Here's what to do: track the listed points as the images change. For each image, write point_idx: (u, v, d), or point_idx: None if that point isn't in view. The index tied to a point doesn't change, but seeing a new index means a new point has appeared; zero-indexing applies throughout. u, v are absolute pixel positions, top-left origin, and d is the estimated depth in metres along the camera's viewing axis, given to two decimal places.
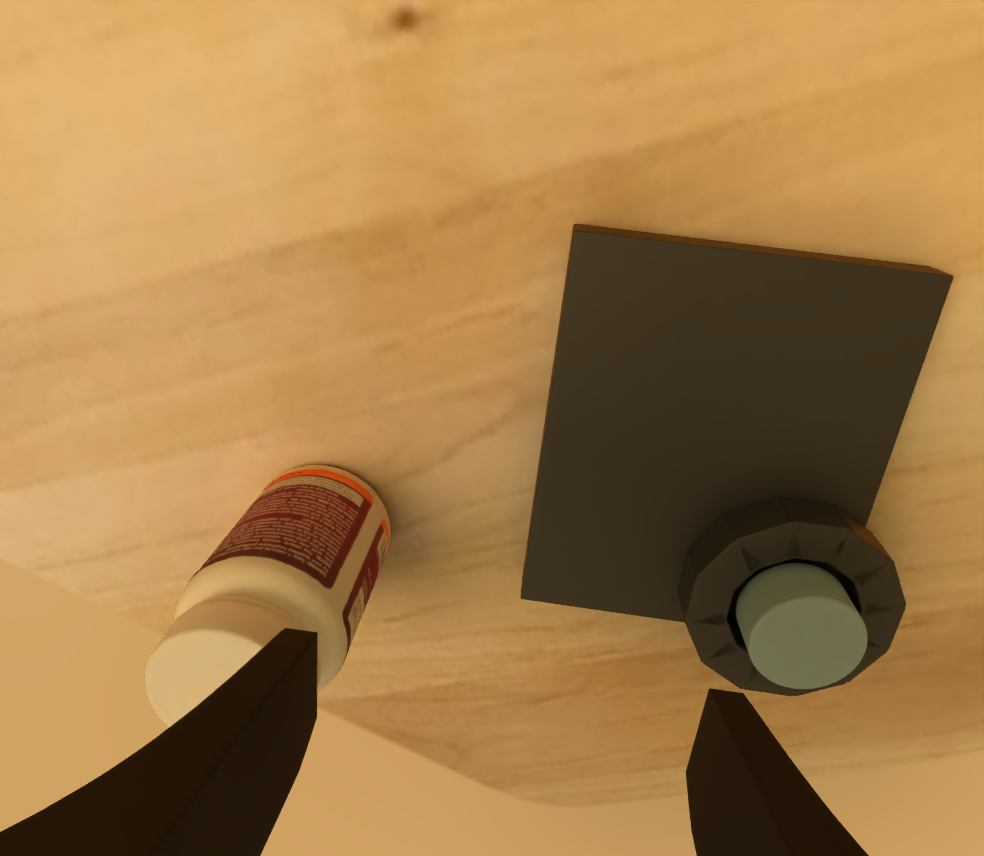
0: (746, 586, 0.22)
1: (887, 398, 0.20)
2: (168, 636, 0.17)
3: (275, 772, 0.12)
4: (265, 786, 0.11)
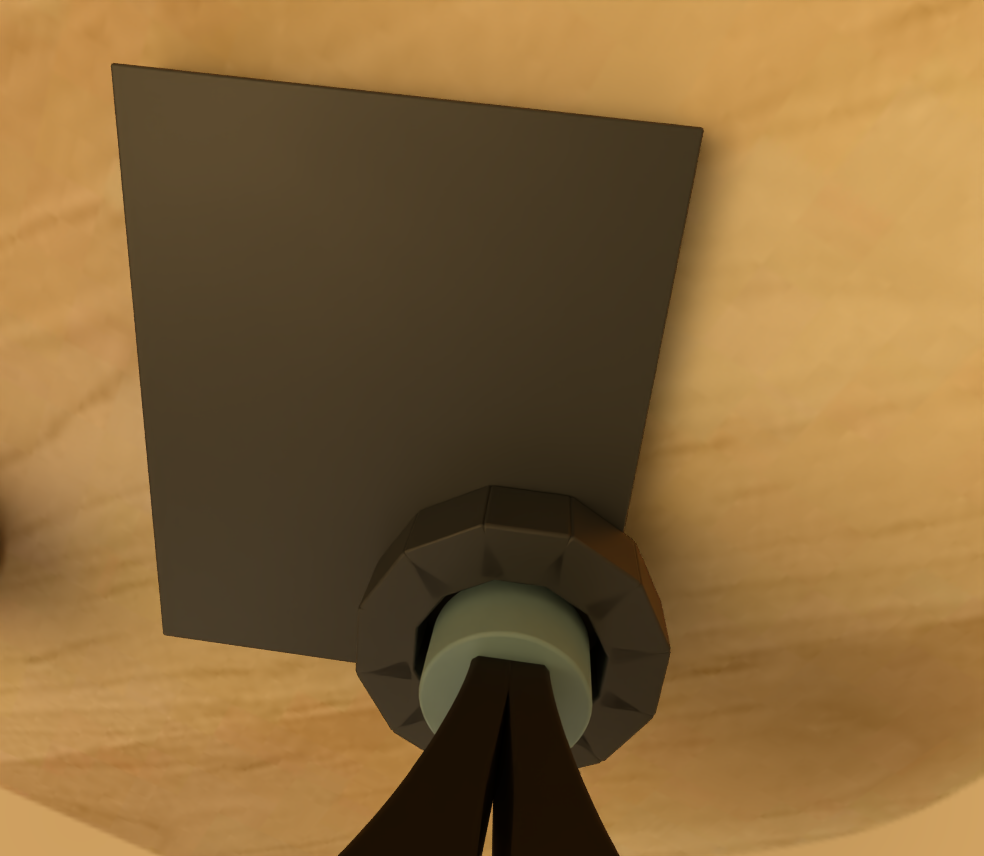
0: (440, 613, 0.15)
1: (628, 332, 0.13)
2: None
3: (489, 805, 0.12)
4: (485, 820, 0.11)
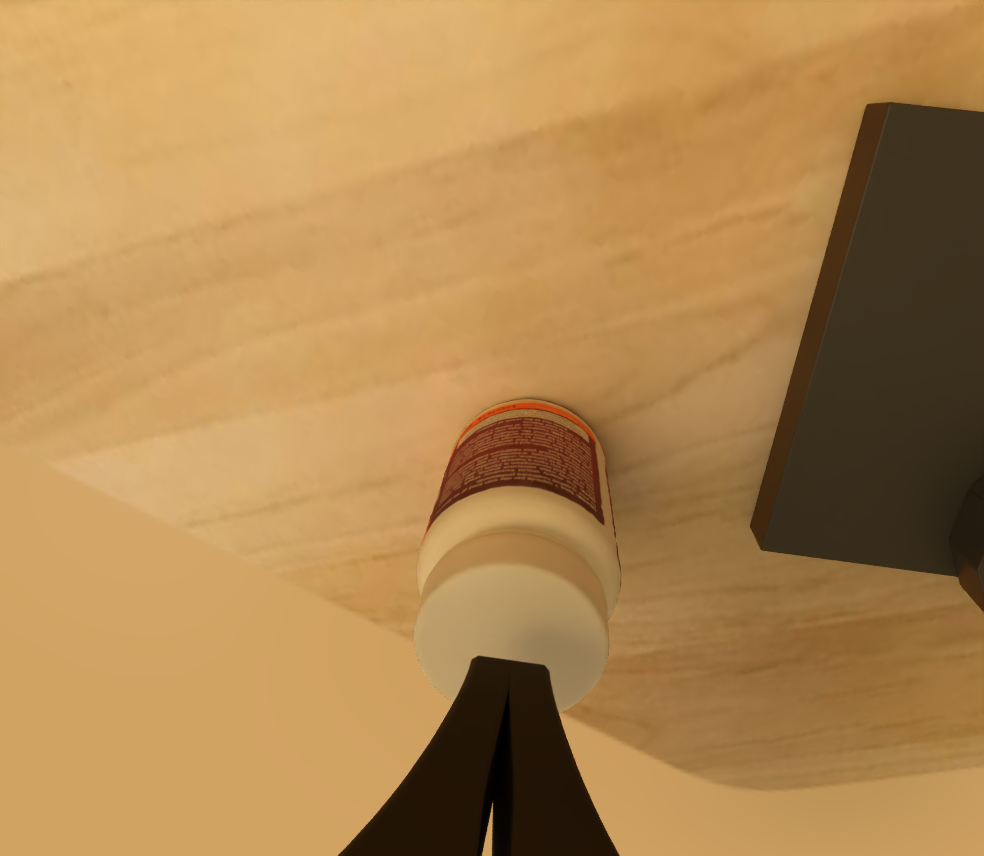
0: None
1: None
2: (451, 573, 0.14)
3: (488, 804, 0.12)
4: (485, 820, 0.11)
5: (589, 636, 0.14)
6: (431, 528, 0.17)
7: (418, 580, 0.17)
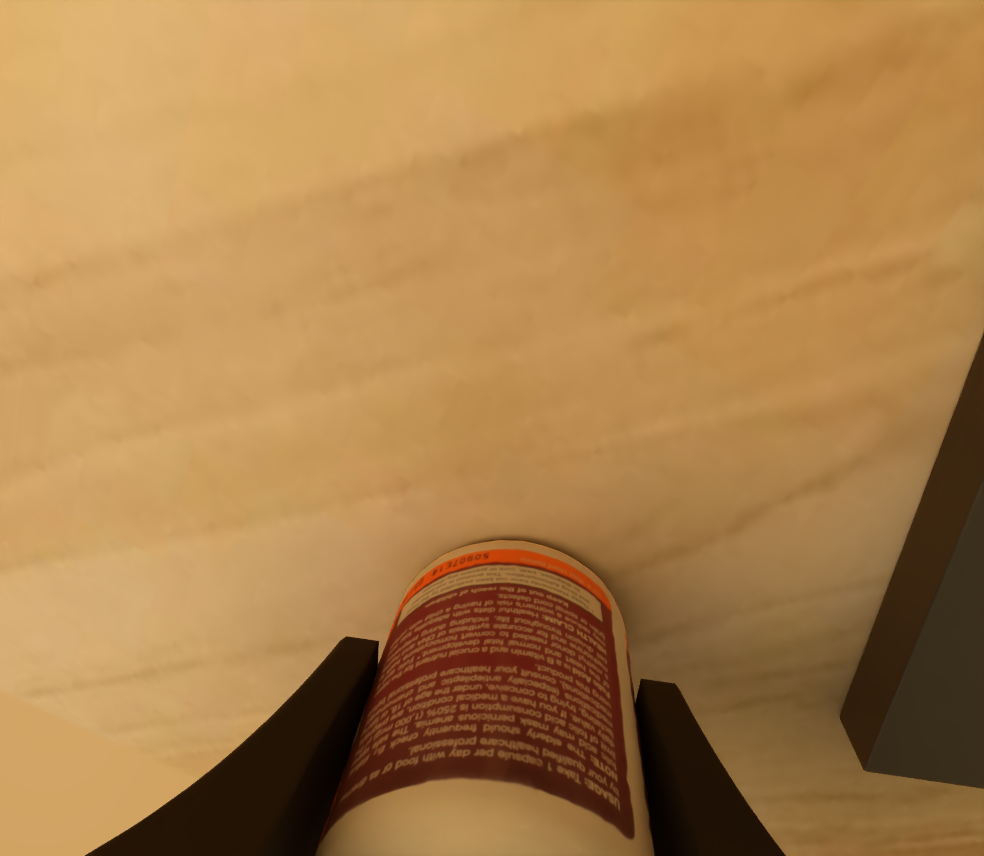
0: None
1: None
2: None
3: None
4: None
5: None
6: (327, 841, 0.09)
7: None
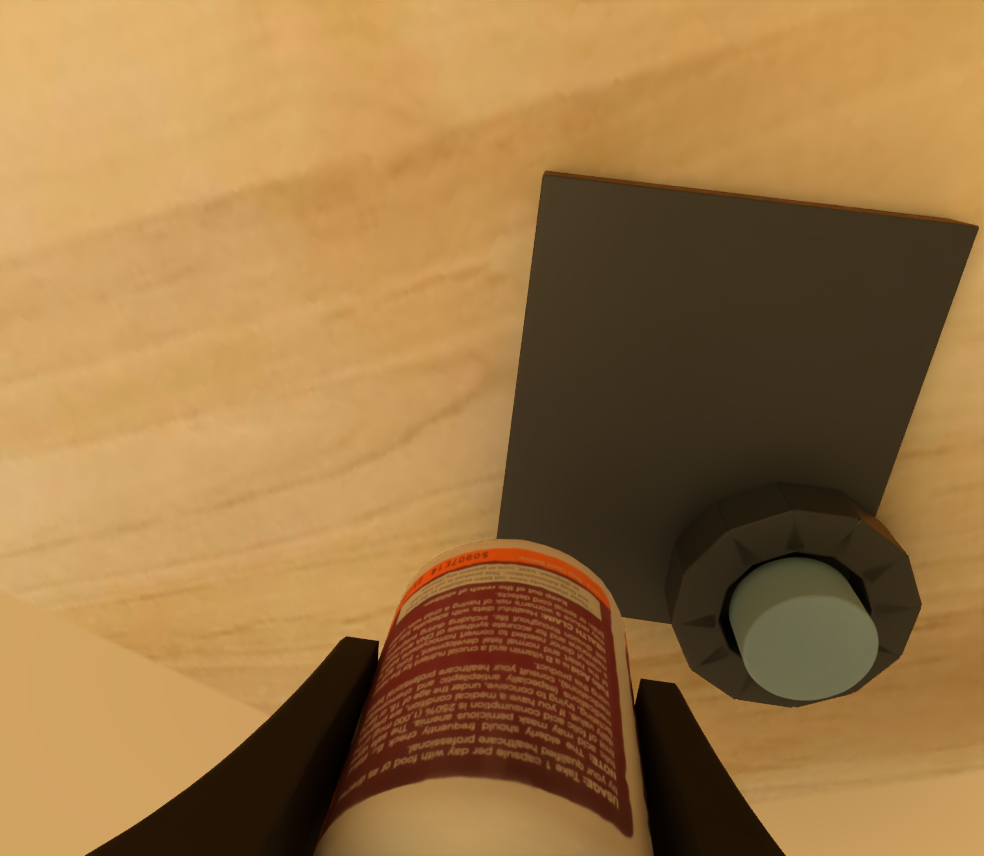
0: (740, 583, 0.19)
1: (901, 369, 0.18)
2: None
3: None
4: None
5: None
6: (326, 840, 0.09)
7: None
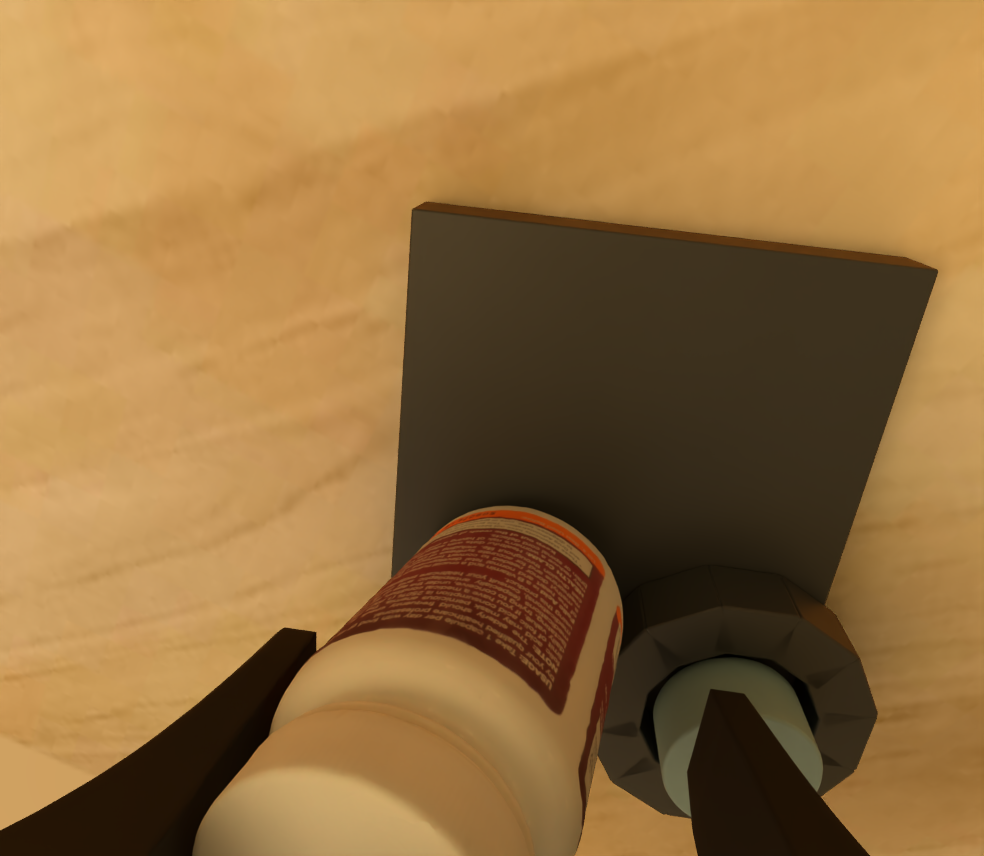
0: (665, 686, 0.16)
1: (850, 437, 0.15)
2: (248, 772, 0.08)
3: None
4: None
5: None
6: (292, 680, 0.11)
7: None
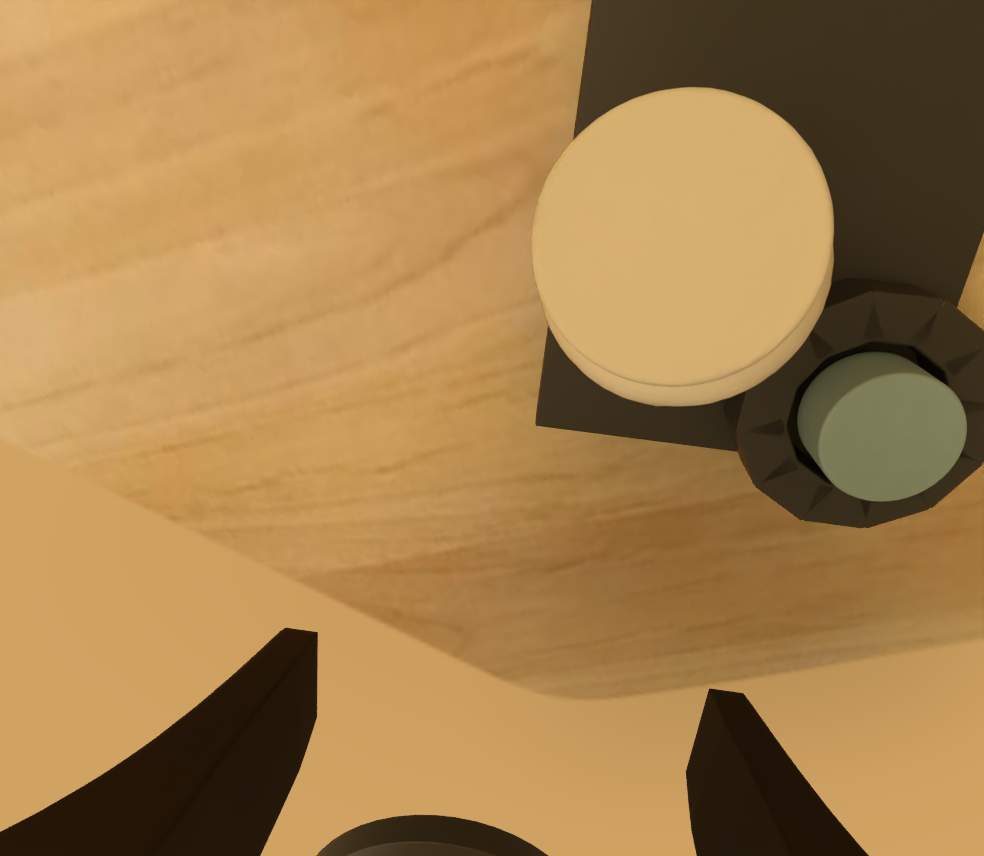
0: (811, 384, 0.18)
1: None
2: (604, 115, 0.10)
3: (275, 772, 0.12)
4: (265, 786, 0.11)
5: (804, 215, 0.09)
6: None
7: None
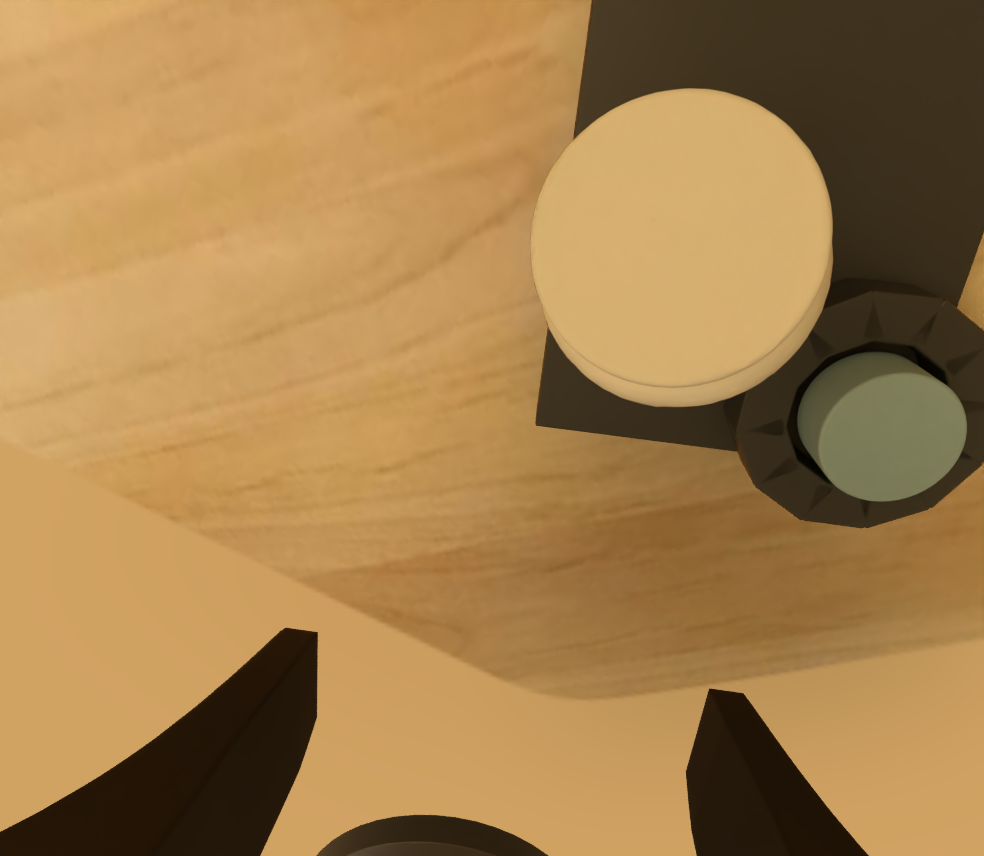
0: (811, 384, 0.18)
1: None
2: (603, 116, 0.10)
3: (275, 772, 0.12)
4: (265, 786, 0.11)
5: (803, 216, 0.09)
6: None
7: None
